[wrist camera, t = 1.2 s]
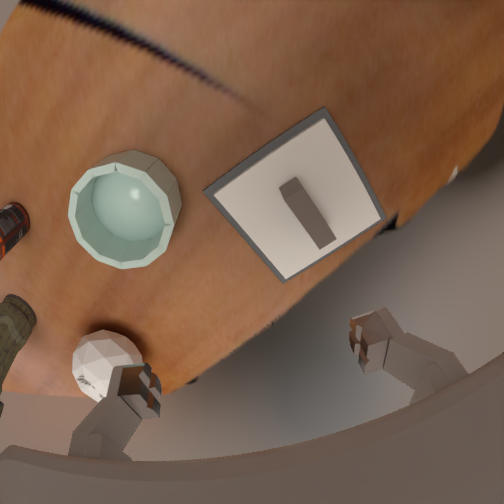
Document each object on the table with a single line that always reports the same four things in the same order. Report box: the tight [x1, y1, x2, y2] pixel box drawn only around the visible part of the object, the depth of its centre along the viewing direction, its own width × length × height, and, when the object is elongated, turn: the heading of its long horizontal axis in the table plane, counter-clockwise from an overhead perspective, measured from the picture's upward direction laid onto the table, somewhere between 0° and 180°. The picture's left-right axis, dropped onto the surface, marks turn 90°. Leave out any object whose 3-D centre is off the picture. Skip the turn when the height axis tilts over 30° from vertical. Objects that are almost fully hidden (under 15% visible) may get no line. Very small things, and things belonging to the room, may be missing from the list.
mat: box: [203, 107, 386, 283], centre depth 37 cm, size 18×18×1 cm
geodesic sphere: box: [72, 330, 143, 402], centre depth 44 cm, size 14×14×14 cm
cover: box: [214, 118, 381, 279], centre depth 35 cm, size 16×16×5 cm
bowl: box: [68, 150, 182, 269], centre depth 33 cm, size 13×13×6 cm
